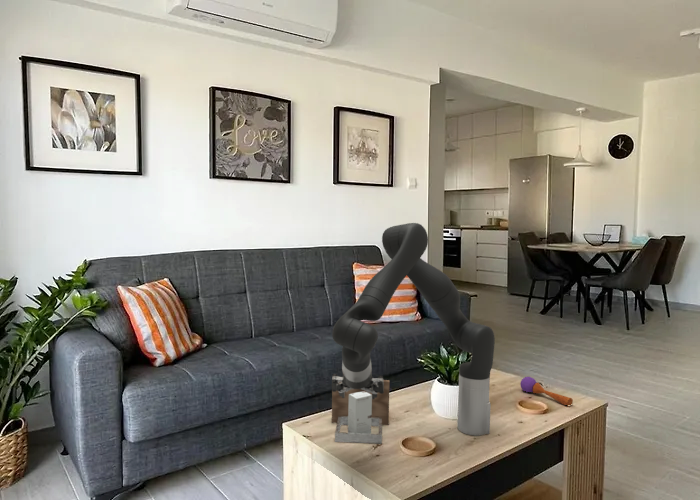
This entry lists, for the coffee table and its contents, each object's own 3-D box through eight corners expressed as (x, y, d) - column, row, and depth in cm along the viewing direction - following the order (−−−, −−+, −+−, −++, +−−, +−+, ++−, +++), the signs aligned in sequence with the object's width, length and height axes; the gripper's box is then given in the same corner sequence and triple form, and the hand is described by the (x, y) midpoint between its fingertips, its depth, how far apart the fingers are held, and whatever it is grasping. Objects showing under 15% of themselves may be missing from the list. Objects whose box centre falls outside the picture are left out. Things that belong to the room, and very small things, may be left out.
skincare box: (355, 438, 147) (356, 398, 147) (347, 433, 151) (347, 394, 150) (372, 434, 151) (373, 394, 150) (363, 428, 155) (364, 390, 154)
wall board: (388, 419, 162) (389, 376, 161) (388, 424, 157) (389, 381, 156) (333, 417, 163) (333, 374, 162) (331, 422, 159) (332, 379, 158)
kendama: (564, 398, 173) (517, 377, 189) (564, 413, 174) (517, 391, 191) (575, 392, 176) (527, 372, 192) (574, 407, 177) (527, 386, 194)
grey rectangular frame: (381, 425, 157) (381, 417, 157) (381, 443, 145) (381, 435, 144) (338, 423, 158) (338, 415, 158) (334, 441, 145) (335, 433, 145)
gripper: (384, 356, 132) (383, 384, 144) (330, 354, 133) (334, 382, 145) (384, 382, 127) (383, 409, 139) (328, 380, 128) (332, 407, 140)
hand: (358, 395), depth 142 cm, fingers open, 8 cm apart
